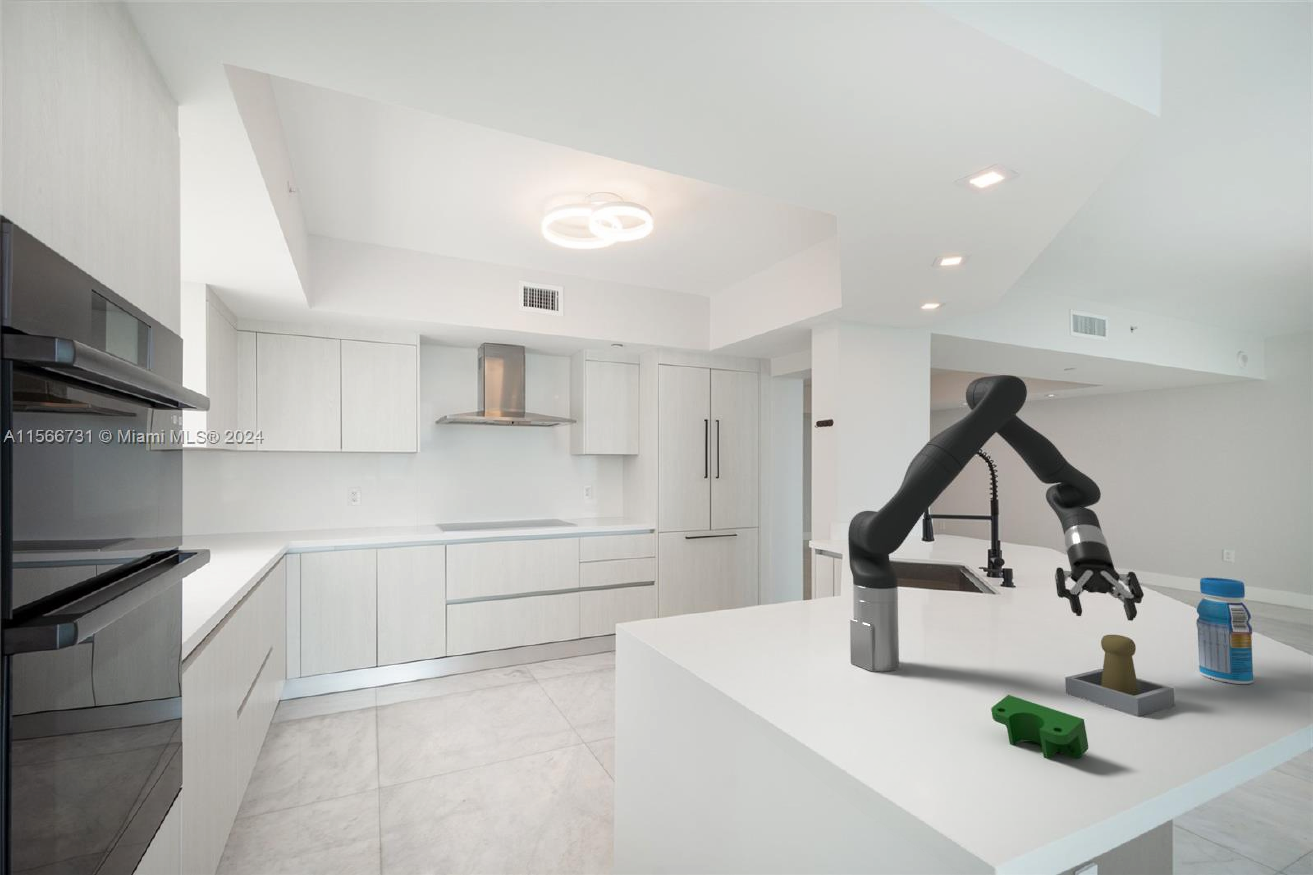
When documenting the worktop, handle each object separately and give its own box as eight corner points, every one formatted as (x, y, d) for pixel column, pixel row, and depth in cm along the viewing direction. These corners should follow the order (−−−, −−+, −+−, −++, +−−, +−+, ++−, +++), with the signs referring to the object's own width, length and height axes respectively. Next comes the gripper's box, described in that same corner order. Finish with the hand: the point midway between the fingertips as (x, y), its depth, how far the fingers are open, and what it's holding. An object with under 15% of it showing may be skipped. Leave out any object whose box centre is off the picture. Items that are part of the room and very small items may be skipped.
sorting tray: (1138, 716, 105) (1137, 698, 105) (1065, 693, 116) (1065, 677, 116) (1174, 705, 110) (1173, 688, 110) (1102, 683, 121) (1101, 668, 121)
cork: (1147, 703, 110) (1145, 641, 110) (1110, 700, 111) (1108, 639, 111) (1128, 691, 116) (1126, 632, 116) (1093, 688, 117) (1091, 630, 117)
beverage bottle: (1197, 678, 124) (1193, 580, 125) (1198, 668, 131) (1195, 575, 132) (1255, 688, 119) (1250, 585, 120) (1253, 678, 125) (1249, 580, 126)
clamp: (1009, 769, 95) (978, 711, 98) (1029, 751, 98) (999, 695, 101) (1082, 771, 85) (1045, 706, 88) (1102, 751, 88) (1066, 689, 91)
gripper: (1051, 538, 132) (1065, 602, 120) (1131, 541, 126) (1154, 608, 115) (1046, 559, 136) (1060, 623, 125) (1123, 563, 131) (1145, 630, 120)
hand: (1105, 616), depth 120 cm, fingers open, 8 cm apart
